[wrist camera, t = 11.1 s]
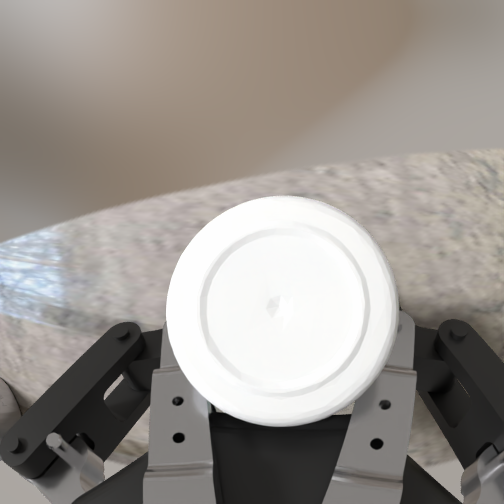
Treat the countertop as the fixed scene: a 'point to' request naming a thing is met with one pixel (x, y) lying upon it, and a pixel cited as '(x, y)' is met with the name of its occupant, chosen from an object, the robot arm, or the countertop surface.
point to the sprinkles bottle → (282, 311)
